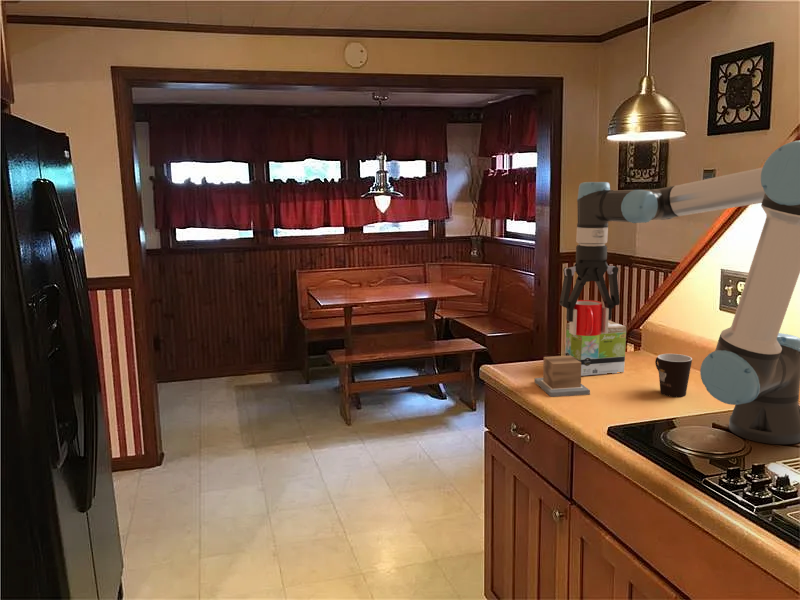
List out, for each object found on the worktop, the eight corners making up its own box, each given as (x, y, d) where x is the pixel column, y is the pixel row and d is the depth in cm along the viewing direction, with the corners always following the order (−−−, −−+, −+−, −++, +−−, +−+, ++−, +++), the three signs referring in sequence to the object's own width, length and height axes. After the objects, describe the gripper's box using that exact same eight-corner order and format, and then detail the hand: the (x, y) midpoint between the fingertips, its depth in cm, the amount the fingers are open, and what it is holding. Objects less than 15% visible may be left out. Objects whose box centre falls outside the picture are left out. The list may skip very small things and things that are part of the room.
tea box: (580, 377, 196) (581, 328, 194) (564, 369, 206) (565, 322, 204) (625, 373, 200) (627, 325, 197) (607, 364, 210) (609, 319, 207)
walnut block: (580, 387, 183) (581, 362, 182) (552, 388, 182) (553, 364, 181) (570, 379, 191) (570, 355, 190) (543, 380, 190) (543, 356, 189)
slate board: (589, 394, 180) (589, 390, 180) (550, 396, 179) (550, 392, 179) (570, 380, 194) (571, 375, 194) (534, 382, 193) (534, 378, 193)
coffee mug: (693, 399, 174) (695, 362, 173) (659, 397, 176) (660, 361, 174) (684, 386, 186) (685, 351, 184) (651, 385, 187) (653, 350, 186)
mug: (575, 339, 164) (576, 308, 163) (567, 329, 176) (568, 299, 175) (607, 339, 164) (609, 308, 162) (597, 329, 175) (599, 299, 174)
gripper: (557, 246, 161) (555, 338, 165) (637, 244, 163) (633, 334, 168) (546, 244, 168) (544, 331, 172) (623, 241, 171) (619, 328, 175)
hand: (588, 332), depth 170 cm, fingers closed on mug, 8 cm apart
